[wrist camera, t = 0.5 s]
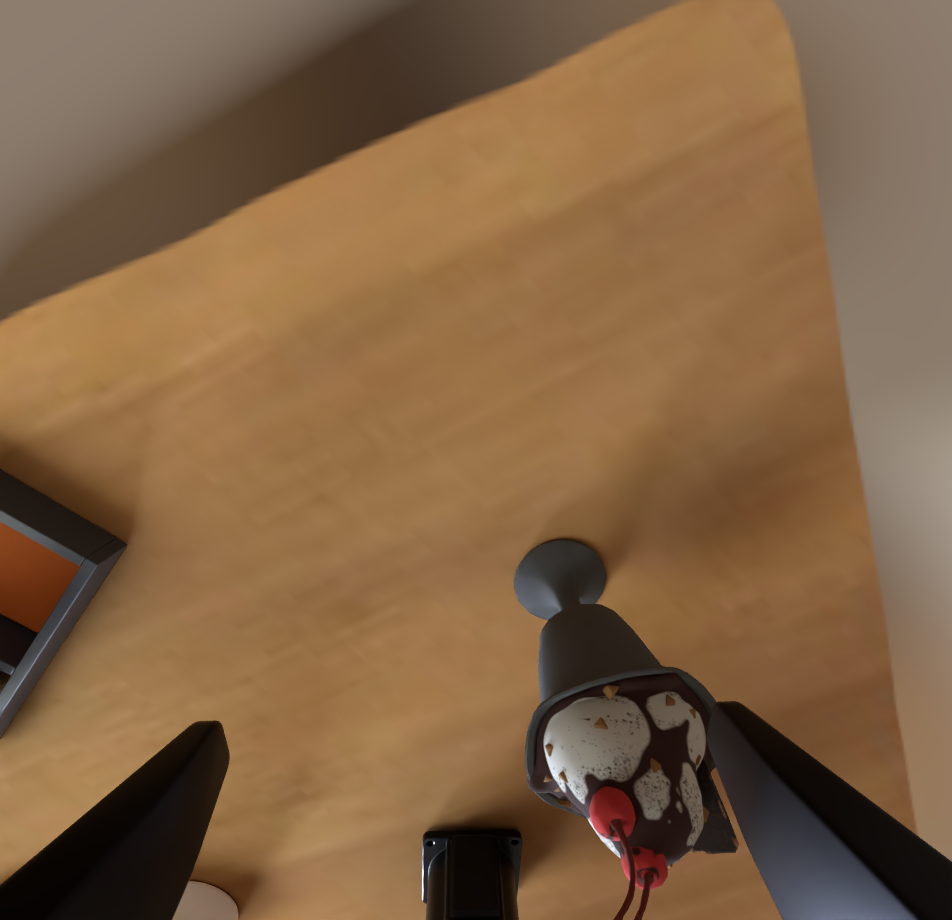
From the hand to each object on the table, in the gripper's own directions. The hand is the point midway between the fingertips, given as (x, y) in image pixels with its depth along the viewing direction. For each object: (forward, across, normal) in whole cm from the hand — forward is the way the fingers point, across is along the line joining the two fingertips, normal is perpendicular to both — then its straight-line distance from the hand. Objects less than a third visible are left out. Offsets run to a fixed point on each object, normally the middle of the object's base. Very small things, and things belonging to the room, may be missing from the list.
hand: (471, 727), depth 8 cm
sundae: (+15, -5, +7) cm, 17 cm away
